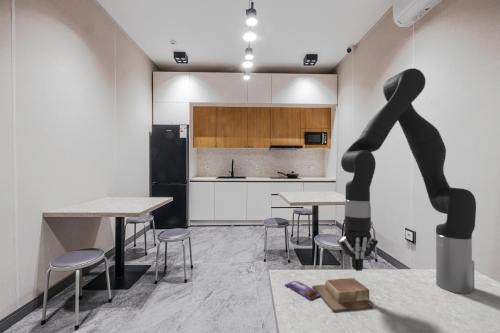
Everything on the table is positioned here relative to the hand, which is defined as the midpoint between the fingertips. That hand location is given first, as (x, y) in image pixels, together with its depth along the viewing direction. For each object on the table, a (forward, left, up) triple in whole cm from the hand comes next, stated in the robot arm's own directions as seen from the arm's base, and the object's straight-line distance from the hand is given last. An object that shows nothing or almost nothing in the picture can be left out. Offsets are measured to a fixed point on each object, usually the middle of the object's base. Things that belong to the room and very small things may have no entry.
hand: (357, 269), depth 76 cm
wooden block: (-1, 0, -6) cm, 6 cm away
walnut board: (+6, 0, -8) cm, 10 cm away
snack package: (+16, -5, -9) cm, 19 cm away
